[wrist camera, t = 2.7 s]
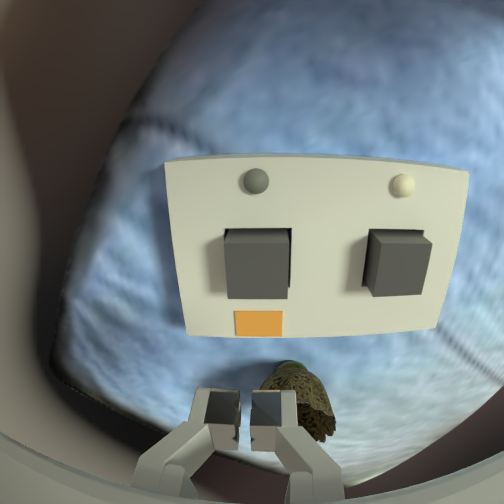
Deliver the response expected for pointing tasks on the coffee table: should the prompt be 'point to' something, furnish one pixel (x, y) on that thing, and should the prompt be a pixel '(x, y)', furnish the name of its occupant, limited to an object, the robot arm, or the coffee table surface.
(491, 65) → the coffee table surface
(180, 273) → the panel
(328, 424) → the brown textured goblet
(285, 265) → the block
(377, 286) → the block
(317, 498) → the robot arm
